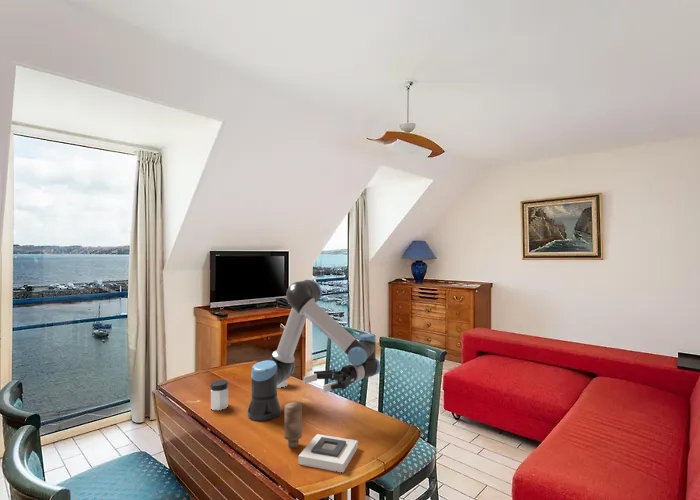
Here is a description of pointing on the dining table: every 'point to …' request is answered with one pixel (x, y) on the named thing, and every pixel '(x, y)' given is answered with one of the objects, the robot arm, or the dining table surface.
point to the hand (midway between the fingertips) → (313, 384)
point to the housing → (328, 453)
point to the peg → (293, 423)
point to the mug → (282, 384)
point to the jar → (219, 394)
